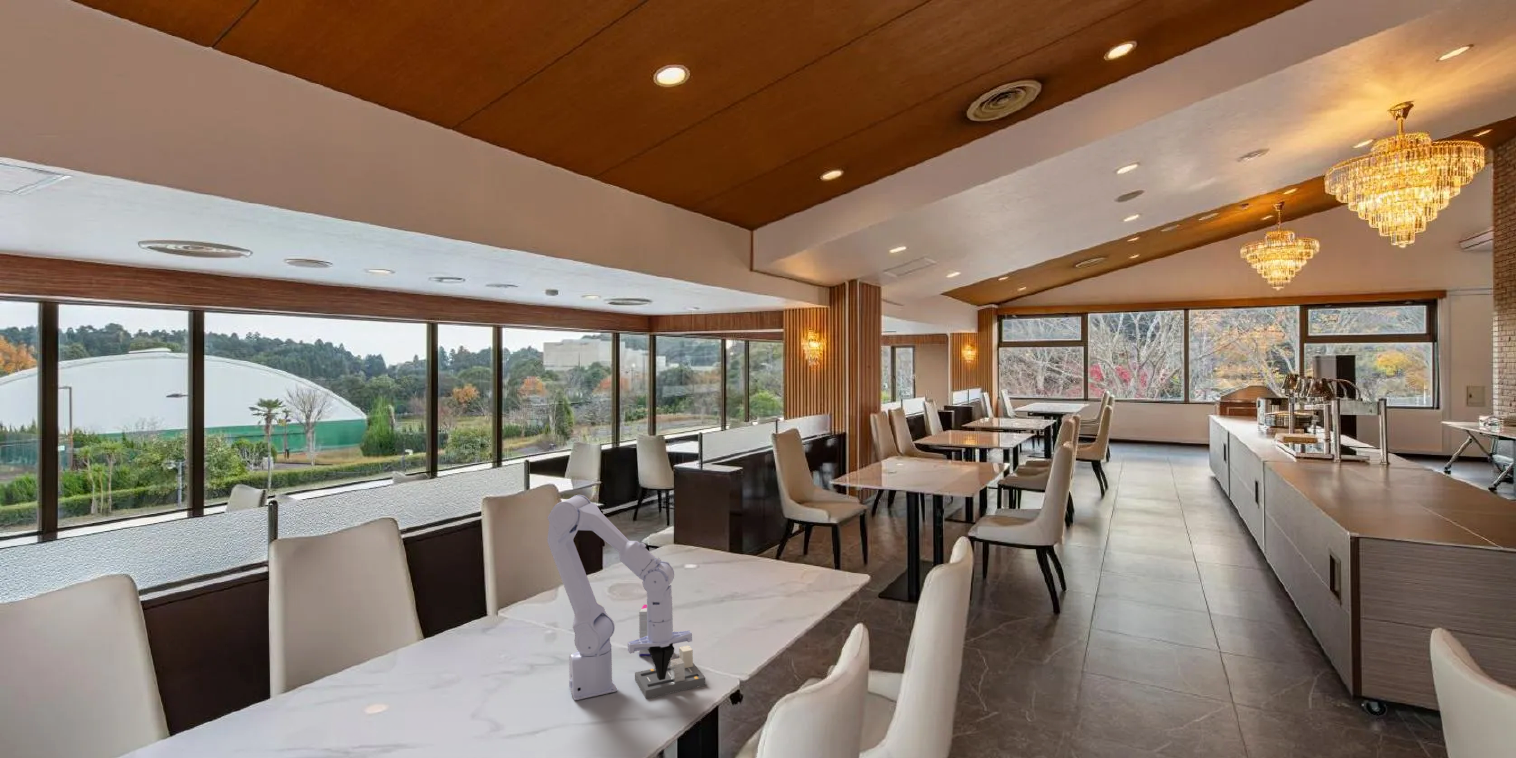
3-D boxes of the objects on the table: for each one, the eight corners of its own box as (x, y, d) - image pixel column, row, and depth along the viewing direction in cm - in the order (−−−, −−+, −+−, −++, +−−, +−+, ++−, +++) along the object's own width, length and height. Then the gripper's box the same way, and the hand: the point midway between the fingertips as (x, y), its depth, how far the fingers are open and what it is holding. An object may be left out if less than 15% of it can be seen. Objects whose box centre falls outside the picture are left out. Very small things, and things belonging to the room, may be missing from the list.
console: (645, 698, 144) (645, 690, 144) (635, 680, 153) (634, 672, 153) (705, 685, 150) (705, 676, 150) (691, 668, 159) (691, 660, 159)
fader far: (683, 671, 155) (682, 651, 155) (679, 666, 157) (679, 647, 157) (693, 669, 156) (692, 649, 156) (689, 664, 158) (688, 645, 158)
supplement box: (661, 656, 166) (660, 611, 166) (638, 656, 167) (637, 611, 167) (665, 647, 172) (664, 603, 172) (643, 647, 172) (642, 604, 172)
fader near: (674, 685, 148) (674, 664, 148) (670, 679, 150) (670, 659, 150) (684, 683, 149) (684, 662, 149) (680, 677, 151) (680, 657, 151)
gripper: (632, 629, 141) (633, 692, 141) (695, 618, 147) (697, 678, 147) (624, 619, 148) (626, 679, 148) (686, 608, 154) (687, 666, 154)
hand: (661, 678), depth 148 cm, fingers closed
